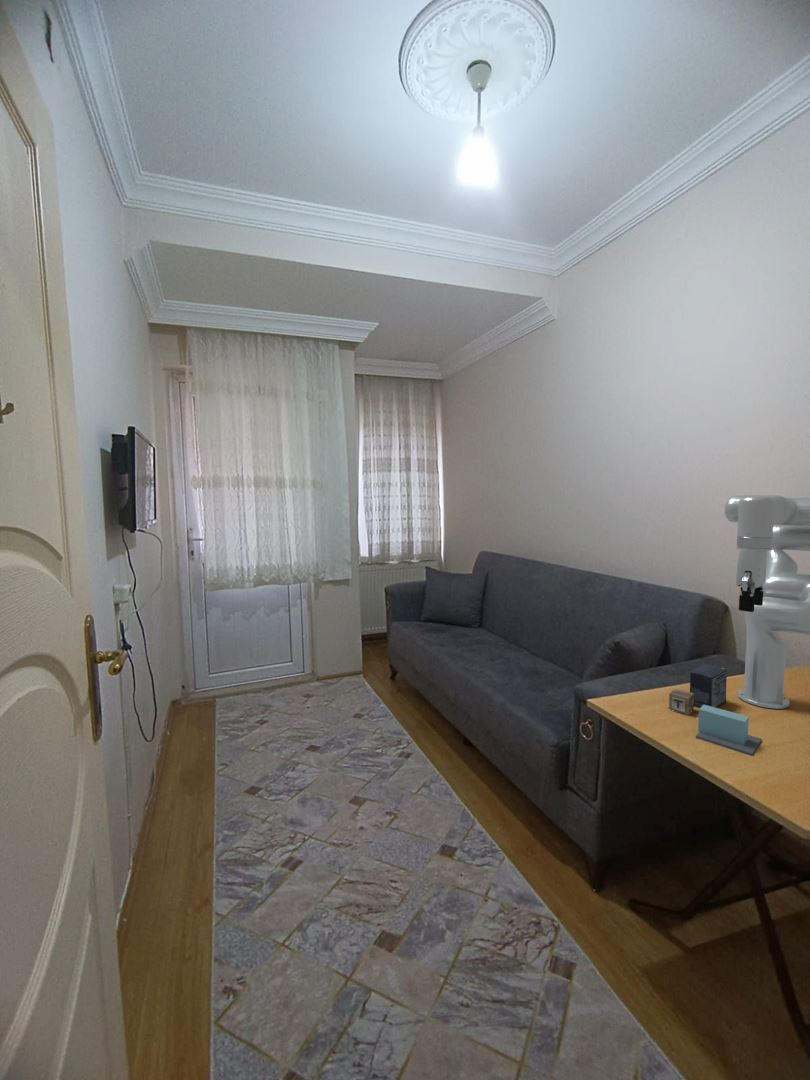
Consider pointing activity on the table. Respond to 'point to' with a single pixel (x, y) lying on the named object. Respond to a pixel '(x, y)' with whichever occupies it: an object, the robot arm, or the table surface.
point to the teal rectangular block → (723, 724)
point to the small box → (708, 685)
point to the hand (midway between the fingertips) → (750, 607)
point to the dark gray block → (733, 743)
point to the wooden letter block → (681, 701)
